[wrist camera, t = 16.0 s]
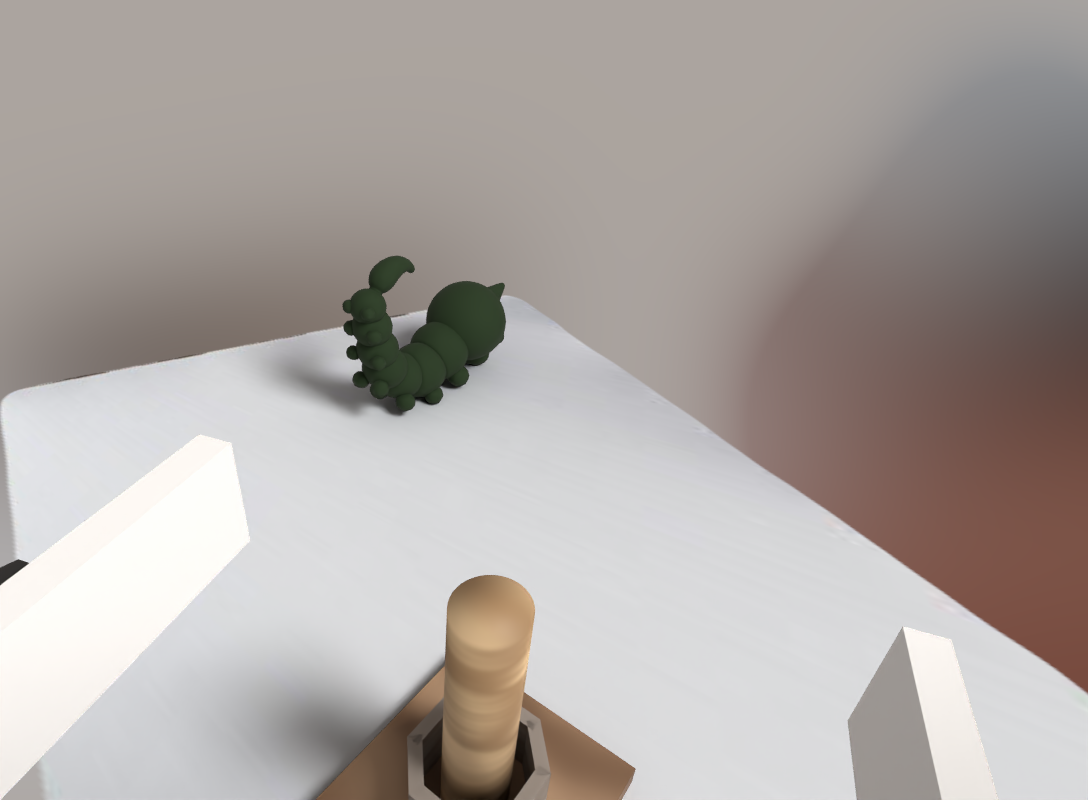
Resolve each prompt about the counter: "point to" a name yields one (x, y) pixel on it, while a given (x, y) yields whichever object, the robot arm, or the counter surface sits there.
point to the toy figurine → (422, 336)
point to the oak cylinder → (484, 686)
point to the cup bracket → (538, 771)
